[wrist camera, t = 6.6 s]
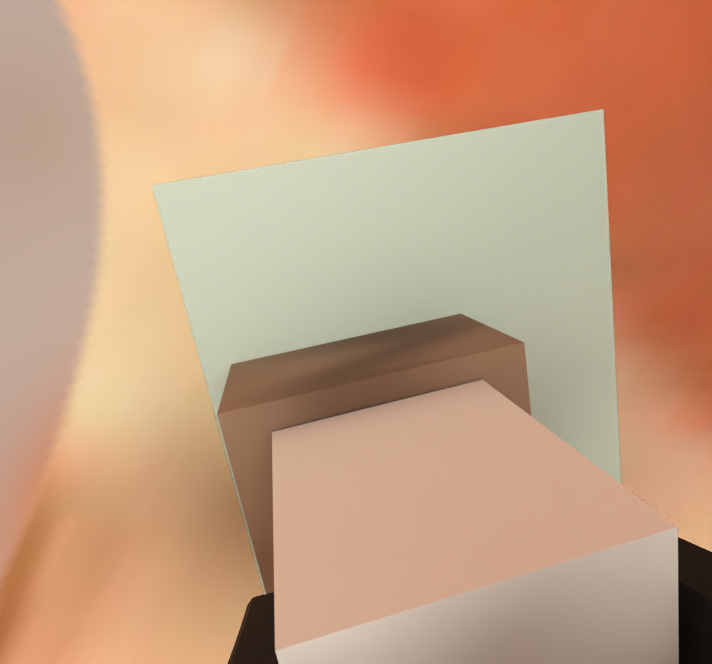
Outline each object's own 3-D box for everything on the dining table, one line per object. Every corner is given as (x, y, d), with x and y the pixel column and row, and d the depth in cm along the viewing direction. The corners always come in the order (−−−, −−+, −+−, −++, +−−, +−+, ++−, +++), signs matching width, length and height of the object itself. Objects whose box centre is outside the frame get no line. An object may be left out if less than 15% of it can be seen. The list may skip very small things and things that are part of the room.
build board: (591, 113, 13) (603, 109, 13) (616, 581, 17) (626, 591, 17) (156, 187, 12) (152, 185, 11) (291, 682, 16) (292, 696, 15)
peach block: (482, 379, 10) (677, 526, 5) (504, 555, 11) (679, 806, 6) (271, 431, 9) (274, 651, 5) (317, 611, 11) (357, 932, 6)
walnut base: (460, 313, 13) (524, 342, 10) (486, 511, 15) (548, 592, 12) (231, 364, 13) (216, 414, 9) (283, 567, 14) (287, 673, 11)
